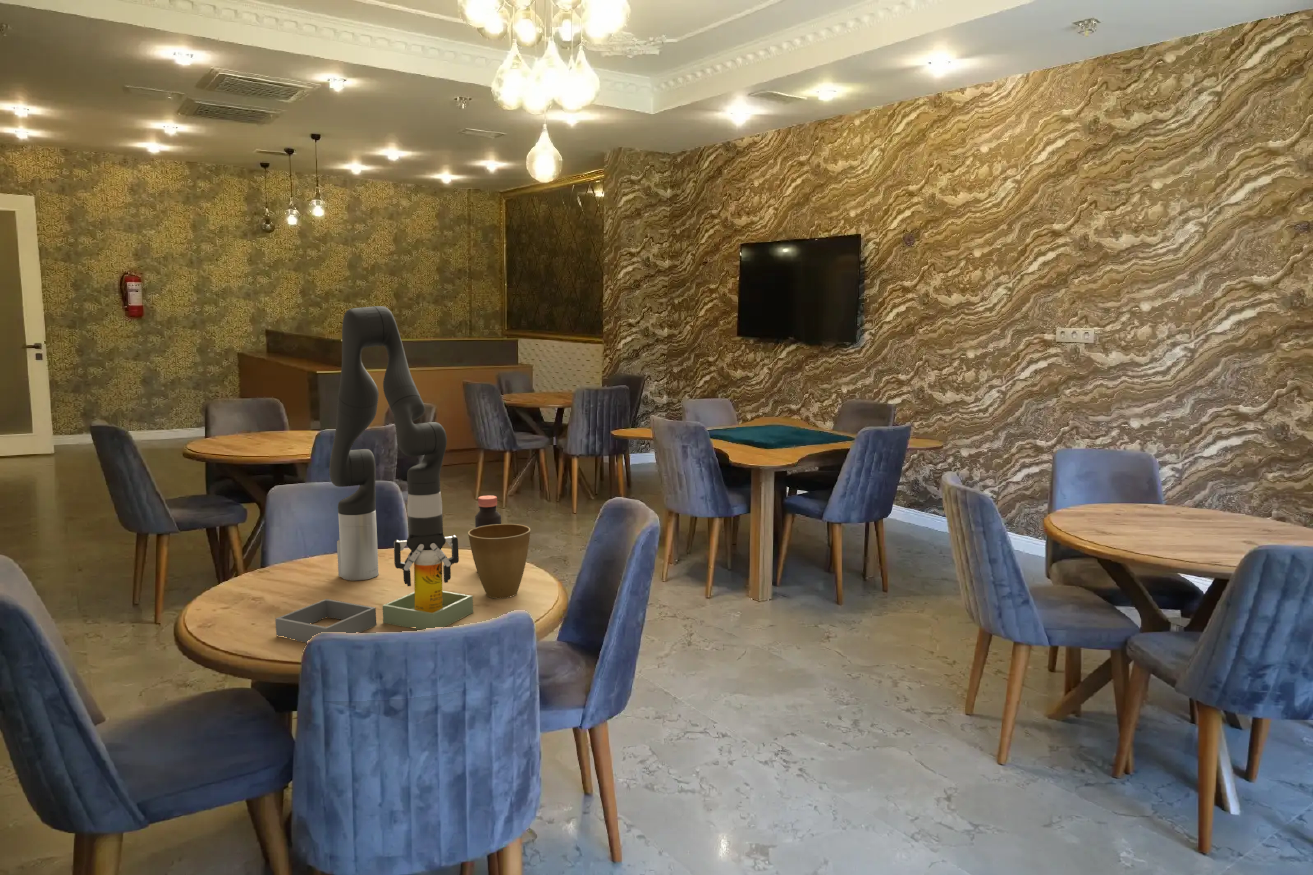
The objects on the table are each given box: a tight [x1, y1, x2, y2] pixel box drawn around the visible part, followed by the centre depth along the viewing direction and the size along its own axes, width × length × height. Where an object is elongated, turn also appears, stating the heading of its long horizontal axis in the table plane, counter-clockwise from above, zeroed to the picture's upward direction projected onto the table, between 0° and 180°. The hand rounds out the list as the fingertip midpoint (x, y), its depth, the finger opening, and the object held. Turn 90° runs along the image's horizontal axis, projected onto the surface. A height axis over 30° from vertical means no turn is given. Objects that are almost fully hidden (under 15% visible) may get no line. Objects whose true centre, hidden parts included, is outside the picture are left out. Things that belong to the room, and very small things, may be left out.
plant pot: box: [467, 523, 531, 599], centre depth 217 cm, size 15×15×16 cm
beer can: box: [413, 550, 443, 613], centre depth 201 cm, size 6×6×15 cm
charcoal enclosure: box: [275, 598, 377, 644], centre depth 193 cm, size 14×14×4 cm
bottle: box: [474, 494, 502, 528], centre depth 236 cm, size 7×7×20 cm
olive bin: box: [382, 590, 474, 630], centre depth 201 cm, size 14×14×4 cm
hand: (427, 583), depth 200 cm, fingers open, 7 cm apart
